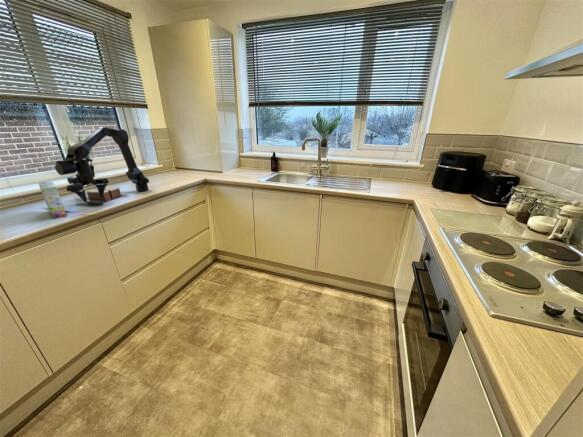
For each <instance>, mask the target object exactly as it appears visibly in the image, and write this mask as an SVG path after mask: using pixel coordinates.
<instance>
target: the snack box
mask: <svg viewBox="0 0 583 437" xmlns="http://www.w3.org/2000/svg"><path fill="white" fill-rule="evenodd" d="M38 185H39V188H40V189H39V190H40V191H41V194H42V197H43V199H44V201H45V204H46V207H47V209H48V210H49V213H50V215H51V217H52V218H53V219H56V218H57V219H59V218H62V217H67V212H66V210H65V207H64V204H63V201H62V198H61V195H60V193H59V191H58V187H57V186H56V184H55V183H54V182H53V181H52V180H48V181H40V182H39V181H38Z"/></svg>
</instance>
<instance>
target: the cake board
mask: <svg viewBox="0 0 583 437" xmlns="http://www.w3.org/2000/svg"><path fill="white" fill-rule="evenodd" d="M127 196H128V194H121V195H120V196H117V197H114V198H111V199H108V200H93V201H103V204H106V203H110V202H111V201H114V200H118V199H120V198H124V197H127ZM86 199H88V200H89V201H90V200H92V199H89V198H88V197H86Z"/></svg>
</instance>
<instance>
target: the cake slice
mask: <svg viewBox="0 0 583 437" xmlns="http://www.w3.org/2000/svg"><path fill="white" fill-rule="evenodd" d="M85 193H86V196H87V198H89V199H92V200H108V199H111V197H110V194H109V191H108V190H105V191H104V195H103V197H100V195H99V192H98V190H94V189H90V190H85Z"/></svg>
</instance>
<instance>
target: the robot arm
mask: <svg viewBox="0 0 583 437" xmlns="http://www.w3.org/2000/svg"><path fill="white" fill-rule="evenodd" d="M106 136H107V137H109V138H110V137H111V138H112V141H114V142H115V144H117V146H118V147H119V150H120V151H121V155H122V157H123V160H124V162H125V164H126V166H127V171H126V172H125V175H126V176H127V179H128V180H129V181H130V182H132V184H134V186H135V190H136V192H137V193H145V192H148V191H150V190H149V186H148V184H150V183H149V182H150V179H149V178H148V177H147V176H145V175H144V173H143V171H142V170H141V169H140V168H139V167H138V166H137V162H136V160H135V158H134V155H133V153H132V150H131V148H130V146H129V141H130V138H129V134H128V131H127V130H125V129H124V128H110V127H105V126H102V127H101V126H100V127H97V129H96V130H94V131H93V132H92V133H91V134H90V135H88V136H87V137H86V138H84V140H82V141H80V142H78V143H75V144H73V145H71V146H70V147H68V148H67V154H66V156H65V158H64V159H63V160H55V168H54V169H55V171H56V173H57V174H58V175H60V176H67V175H72V174H75V177H73V176H70V177H67V178H66V179H67V180H66V181H67V182H68V185H66V188H65V189H66V191H67V192H70V193H74V194H76V195H77V196H78V197H79V199H82V200H83V201H84V202H87V199H86V198H87V193H86V190H85V189H84V188H88V187H92V186H95V188H97V189H98V192H99V195H100V197H103V195H104V191H105V188H106V187H107V186H108V184H110V182H109V179H108V178H107V177H98V178H94V175H95V172H92V169H91V167H90V164H89V163H90V162H93V159H91V158H89V157H88V156H89V154H90V153H91V151H92V148H94V146H96V145H97V144H98V143H99V142H100V141H102V140H103V139H104V138H105V137H106Z"/></svg>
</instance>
